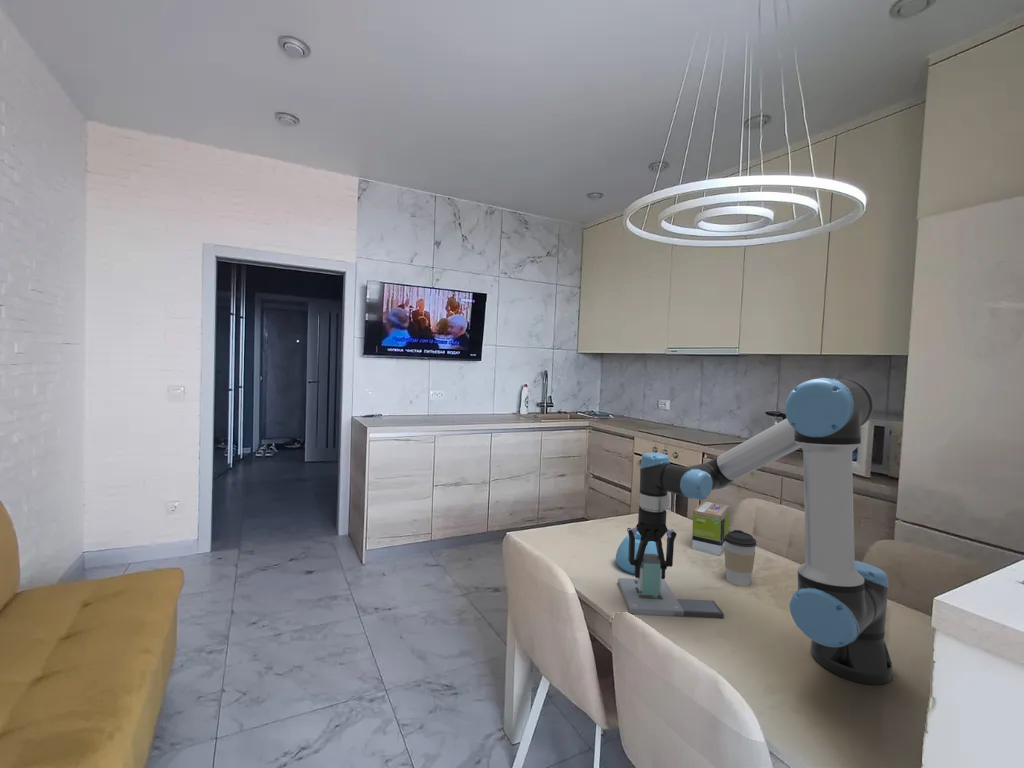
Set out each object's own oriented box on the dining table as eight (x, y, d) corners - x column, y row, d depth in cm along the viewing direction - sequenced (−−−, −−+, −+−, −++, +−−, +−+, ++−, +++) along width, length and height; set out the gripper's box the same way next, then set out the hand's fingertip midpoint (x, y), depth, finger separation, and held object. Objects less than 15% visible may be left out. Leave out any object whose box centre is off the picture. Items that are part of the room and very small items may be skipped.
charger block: (658, 595, 134) (660, 560, 134) (642, 594, 134) (644, 559, 134) (654, 587, 139) (656, 553, 138) (639, 587, 139) (640, 553, 138)
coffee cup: (758, 589, 144) (760, 540, 143) (725, 585, 146) (728, 537, 145) (749, 576, 153) (752, 530, 152) (719, 573, 155) (721, 527, 154)
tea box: (701, 537, 186) (703, 500, 186) (729, 544, 180) (731, 505, 180) (690, 549, 174) (692, 509, 173) (720, 556, 168) (722, 515, 168)
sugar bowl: (645, 582, 147) (647, 545, 146) (606, 565, 158) (607, 531, 158) (671, 569, 157) (673, 534, 156) (632, 554, 168) (634, 521, 167)
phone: (723, 618, 127) (723, 613, 127) (674, 615, 127) (674, 611, 127) (713, 604, 134) (713, 600, 134) (666, 602, 134) (666, 598, 134)
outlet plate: (683, 616, 127) (683, 610, 127) (630, 613, 128) (630, 608, 128) (664, 584, 145) (664, 579, 145) (617, 582, 146) (618, 577, 146)
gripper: (679, 505, 139) (676, 584, 140) (618, 502, 139) (615, 581, 140) (688, 513, 131) (684, 597, 132) (623, 511, 132) (620, 594, 133)
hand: (649, 588), depth 136 cm, fingers closed on charger block, 4 cm apart
